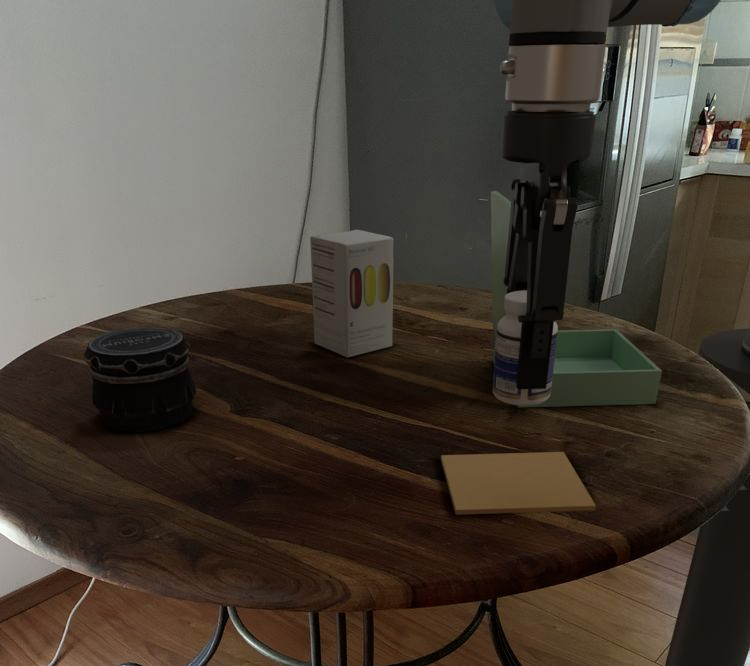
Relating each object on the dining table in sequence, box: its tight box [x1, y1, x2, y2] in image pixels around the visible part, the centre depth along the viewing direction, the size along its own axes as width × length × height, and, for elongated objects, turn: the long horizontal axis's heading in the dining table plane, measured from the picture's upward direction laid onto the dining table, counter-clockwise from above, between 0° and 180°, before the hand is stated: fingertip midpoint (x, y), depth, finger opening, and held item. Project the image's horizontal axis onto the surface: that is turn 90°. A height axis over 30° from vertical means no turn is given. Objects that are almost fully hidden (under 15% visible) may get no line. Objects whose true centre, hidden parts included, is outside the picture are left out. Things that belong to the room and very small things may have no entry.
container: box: [83, 326, 197, 433], centre depth 92 cm, size 13×13×10 cm
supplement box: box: [309, 229, 394, 358], centre depth 114 cm, size 10×9×17 cm
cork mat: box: [440, 451, 597, 516], centre depth 78 cm, size 14×12×1 cm
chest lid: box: [490, 190, 511, 334], centre depth 96 cm, size 19×18×1 cm
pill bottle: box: [492, 290, 559, 406], centre depth 71 cm, size 6×6×10 cm
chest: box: [492, 328, 663, 409], centre depth 102 cm, size 18×18×5 cm
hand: (523, 375), depth 72 cm, fingers closed on pill bottle, 6 cm apart
